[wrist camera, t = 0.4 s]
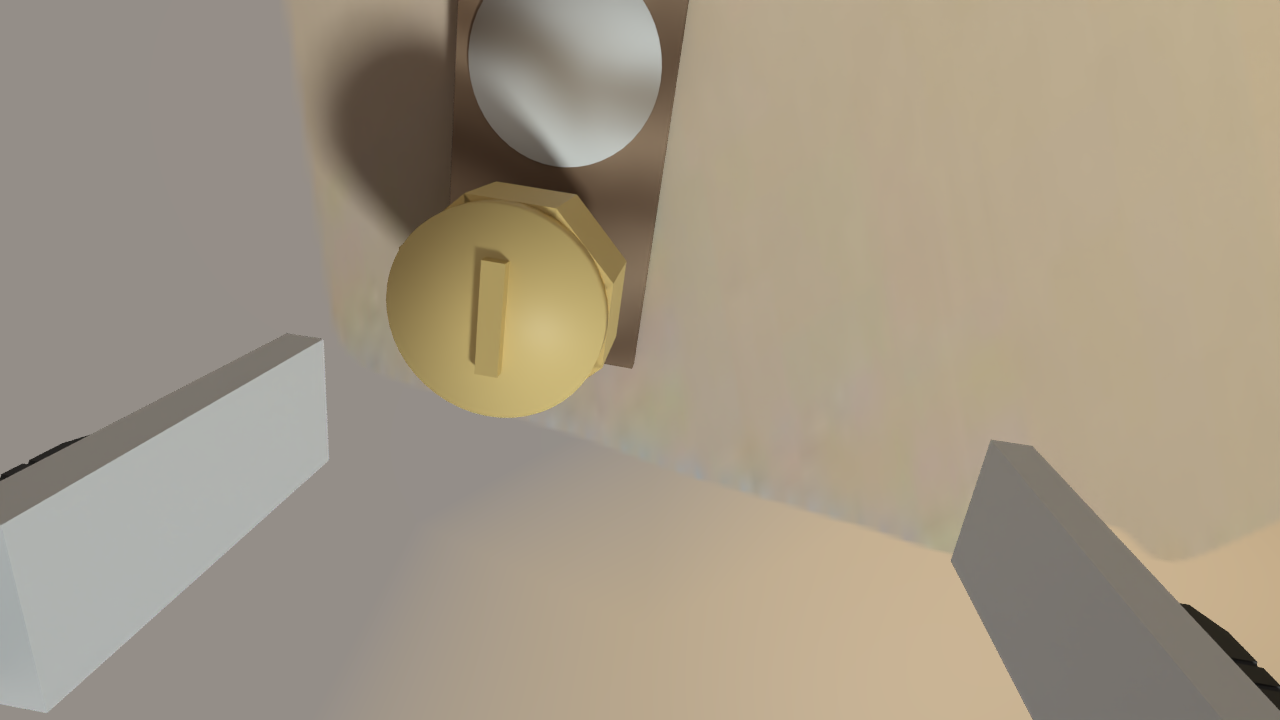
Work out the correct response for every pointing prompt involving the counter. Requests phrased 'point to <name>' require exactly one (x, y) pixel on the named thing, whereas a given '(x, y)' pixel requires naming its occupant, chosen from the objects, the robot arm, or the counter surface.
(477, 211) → the cap
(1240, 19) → the counter surface
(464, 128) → the post board
